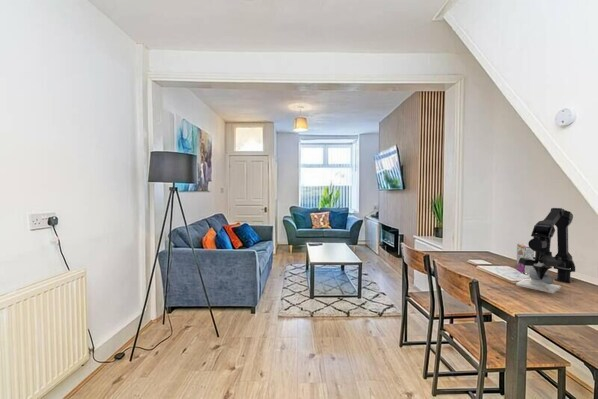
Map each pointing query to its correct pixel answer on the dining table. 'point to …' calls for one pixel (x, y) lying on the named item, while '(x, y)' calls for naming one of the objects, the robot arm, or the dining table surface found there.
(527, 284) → the duct base
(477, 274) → the dining table surface
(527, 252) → the candy bar box
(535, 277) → the duct elbow
